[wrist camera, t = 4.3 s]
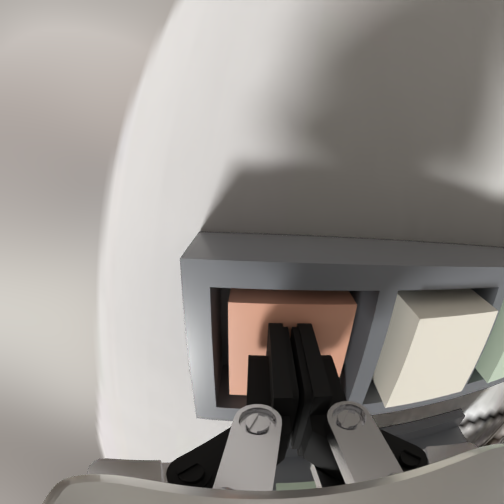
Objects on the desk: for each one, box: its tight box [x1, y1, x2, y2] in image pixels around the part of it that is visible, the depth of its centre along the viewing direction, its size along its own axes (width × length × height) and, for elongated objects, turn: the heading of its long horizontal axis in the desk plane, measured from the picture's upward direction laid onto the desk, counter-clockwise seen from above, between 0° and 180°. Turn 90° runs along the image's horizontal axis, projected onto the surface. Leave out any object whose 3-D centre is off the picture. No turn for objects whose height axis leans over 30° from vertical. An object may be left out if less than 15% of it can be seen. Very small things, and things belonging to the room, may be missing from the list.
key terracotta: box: [228, 288, 357, 395], centre depth 12 cm, size 5×5×2 cm
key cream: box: [372, 289, 498, 408], centre depth 11 cm, size 5×5×2 cm
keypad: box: [180, 232, 504, 491], centre depth 11 cm, size 22×19×10 cm
